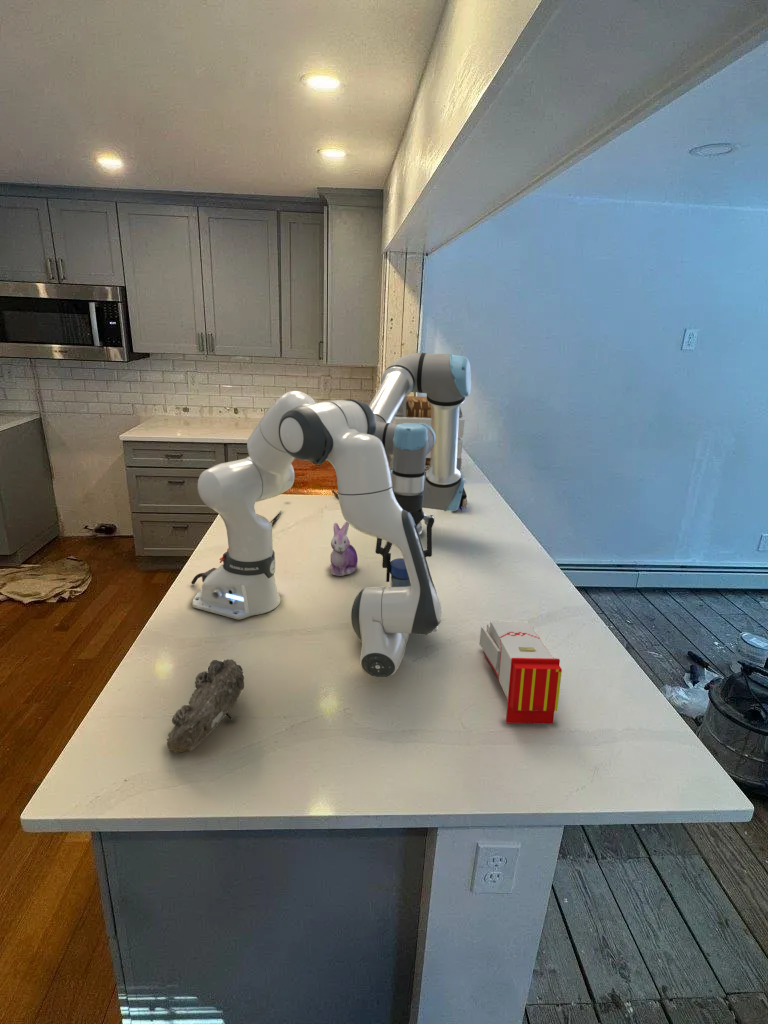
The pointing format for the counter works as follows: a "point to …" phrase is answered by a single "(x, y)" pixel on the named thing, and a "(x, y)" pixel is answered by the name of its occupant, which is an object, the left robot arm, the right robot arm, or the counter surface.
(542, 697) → the toy
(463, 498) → the figurine character
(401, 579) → the grey tall cylinder
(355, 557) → the figurine
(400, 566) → the lid
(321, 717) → the counter surface
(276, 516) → the feather
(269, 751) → the counter surface
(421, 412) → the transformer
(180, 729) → the fossil
